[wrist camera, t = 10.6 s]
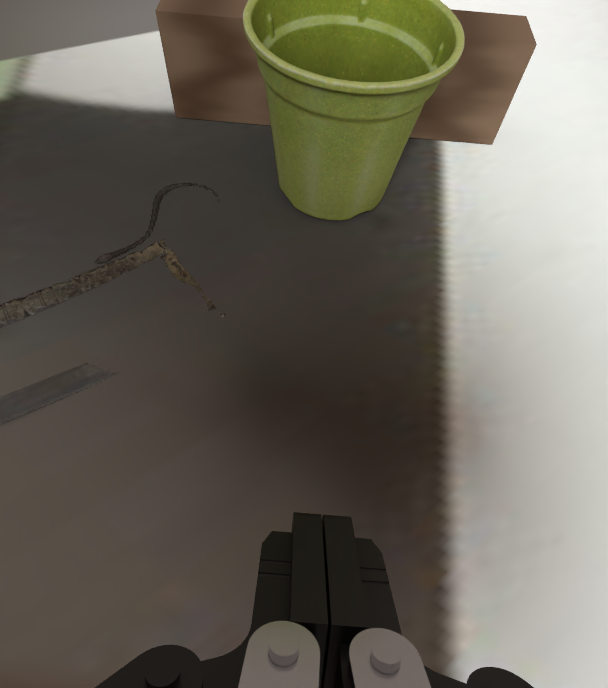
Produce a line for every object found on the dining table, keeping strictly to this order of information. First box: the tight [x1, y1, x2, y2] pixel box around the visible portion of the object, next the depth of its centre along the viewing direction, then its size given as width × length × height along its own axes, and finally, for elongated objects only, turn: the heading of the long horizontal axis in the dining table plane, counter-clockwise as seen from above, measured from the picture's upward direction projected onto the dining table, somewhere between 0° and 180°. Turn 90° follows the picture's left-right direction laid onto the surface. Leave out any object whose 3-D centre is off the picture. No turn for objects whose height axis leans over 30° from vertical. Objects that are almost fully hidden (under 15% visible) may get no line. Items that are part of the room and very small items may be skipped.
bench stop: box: [156, 0, 537, 144], centre depth 27 cm, size 20×3×9 cm, turn 86°
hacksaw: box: [0, 183, 225, 424], centre depth 21 cm, size 24×10×2 cm, turn 120°
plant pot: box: [243, 0, 465, 220], centre depth 24 cm, size 9×9×9 cm
